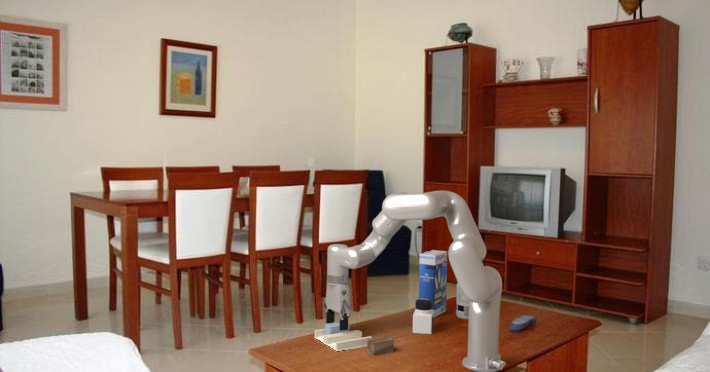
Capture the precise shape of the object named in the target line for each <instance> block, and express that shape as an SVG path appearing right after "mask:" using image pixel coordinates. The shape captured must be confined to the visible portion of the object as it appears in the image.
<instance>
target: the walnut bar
mask: <svg viewBox="0 0 710 372" xmlns="http://www.w3.org/2000/svg"><path fill="white" fill-rule="evenodd" d="M394 341H395V339H394V338H392V337H390V336H388V335H385V336H380V337H374V338H373V337H372V339H368V340H367V349H366V353H368V354H369V355H371V356H373V357H374V356H381V355H384V354H390V353H394V349H395V347H394V346H395V344H394V343H395V342H394Z"/></svg>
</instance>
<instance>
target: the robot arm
mask: <svg viewBox="0 0 710 372" xmlns="http://www.w3.org/2000/svg"><path fill="white" fill-rule="evenodd" d="M381 205H382V207H381V211H380V212H379V214H377V216H376V217H375V218H373V220H372V223H371V225H372V231H371V232H370V234H369V235H368V236H367V237H366V239H365V240H364V241H363V242H361V243H360V244H357V245H354V246H350V247H348V245H346V244H340V243H333V244H330V245H329V246H328V247H327V254H326V256H327V257H326V258H327V259H326V260H327V261H326V262H327V263H326V264H327V266H326V267H327V269H326V270H327V271H326V274H327V275H326V295H325V296H326V297H324V307H325V312H326V313H325V324H330V323H335V313H338V315H339V317H340V319H339V322H340V331H343V330H348V323H349V319H350V316H351V311H352V308H351V296H350V295H351V293H350V287H349V269H352V270H353V269H354V270H355V269H359V268H362V267H363V266H368V265H370V264H371V263H373V261H375V260H376V259H377V257H378V256H379V255H380V254H382V252H383V251H384V250H385V249H386V247H387V246H388V244H389V243H390V241H391V240H392V238H393V236H395V234H396V233H397V232H398V231H399V230H400V229H401V228H402V227H403V226H404V225H405V224H406V222H407V221H420V220H421V221H422V220H423V221H425V220H427V221H428V220H433V219H435V218H436V219H437V218H440V217H444V218H445V220H446V224H447V227H448V230H449V232H450V236H451V238H452V239H453V241H452V243H451V244H450V245H449V247H448V251H447V257H448V260H449V264H450V267H451V269H452V272H453V273H454V274H453V275H454V277H455V279H456V282H457V283H458V284H459V286H460V289H461V291H462V293H463V295H464V296H465V297H466V298H467V299H468V300H469V301H470V303H469V319H468V326H467V327H468V329H467V331H468V333H467V356H466V357H464V358H463V359H462V362H461V363H462V366H463V367H464V368H466V369H467V370H471V371H474V372H499V371H501V370H503V368H504V367H505V366H506V365H507V363H506V361H504V360H501V356H502V355H501V354H500V353H499V346H500V345H499V339H500V338H499V336H500V317H501V316H500V315H501V314H500V313H501V298H502V291H503V279H502V276H501V275H500V274H501V273H499V271H498V270H497V269H496V268H494V267H492V266H490V265H485V266H484V263H483V260H484V259H485V257H486V255H487V247H486V244H485V242H484V240H483V238H482V235H481V232H480V231H479V228H478V226H477V224H476V222H475V220H474V217H473V215H472V213H471V210H470V208H469V206H468V204H467V202H466V200H465V199H464V198H463V197H462V196H461V195H459V194H458V193H456V192H453V191H449V190H435V191H434V190H433V191H428V192H419V193H408V192H398V193H397V192H395V193H391V194H389V195H387V197H385V199H383V202H382V204H381Z"/></svg>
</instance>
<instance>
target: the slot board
mask: <svg viewBox="0 0 710 372" xmlns="http://www.w3.org/2000/svg"><path fill="white" fill-rule="evenodd" d="M315 338H316V339H318V340H320V341H321V342H323V343H324V344H326V345H328V346H330V347H331V348H333V349H334V350H336V351H340V352H343V351H342V350H346V351H350V350H349V349H351V350H356V349H360V348H366V347H367V340H368V339H373V337H372V336H371V335H370V336H364V337H363V331H361V330H359V329H355V330H350V331H347V332H341V333H335V334H329V335H325V328H321V329H315V330H314V339H315ZM316 339H315V340H316ZM321 342H320V343H321ZM323 343H322V344H323ZM324 344H323V345H324ZM326 345H325V346H326ZM328 346H327V347H328ZM331 348H330V349H331ZM333 349H332V350H333ZM334 350H333V351H334ZM336 351H335V352H336Z"/></svg>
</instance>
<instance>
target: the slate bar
mask: <svg viewBox="0 0 710 372" xmlns="http://www.w3.org/2000/svg"><path fill="white" fill-rule="evenodd" d="M350 327H351V324H350V323H349V322H348V330H343V331H340V321H337V322H334V323H328V324H327V323H324V329H325V335H329V334H335V333H341V332H347V331H351V330H350V329H351V328H350Z"/></svg>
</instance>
